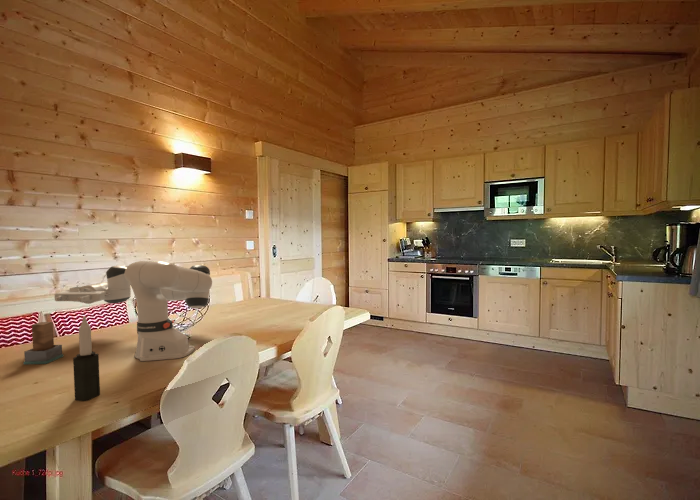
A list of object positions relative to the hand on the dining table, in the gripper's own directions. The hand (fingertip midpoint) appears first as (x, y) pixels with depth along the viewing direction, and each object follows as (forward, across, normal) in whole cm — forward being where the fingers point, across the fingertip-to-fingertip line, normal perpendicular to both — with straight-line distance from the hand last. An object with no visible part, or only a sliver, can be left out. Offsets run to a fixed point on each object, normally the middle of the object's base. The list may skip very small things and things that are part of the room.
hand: (68, 299), depth 155 cm
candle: (+49, -41, -21) cm, 68 cm away
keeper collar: (+14, 0, -22) cm, 26 cm away
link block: (+14, 0, -21) cm, 25 cm away
